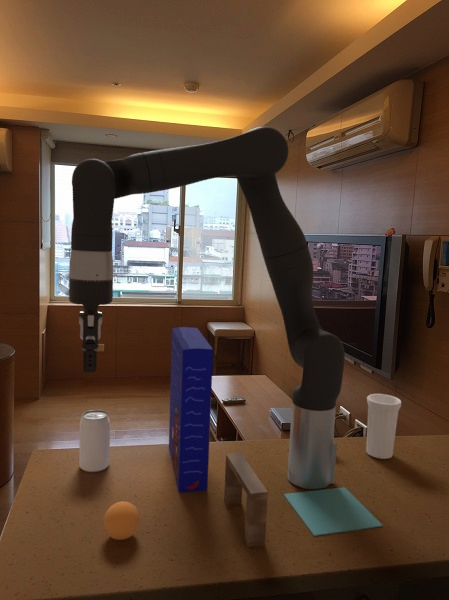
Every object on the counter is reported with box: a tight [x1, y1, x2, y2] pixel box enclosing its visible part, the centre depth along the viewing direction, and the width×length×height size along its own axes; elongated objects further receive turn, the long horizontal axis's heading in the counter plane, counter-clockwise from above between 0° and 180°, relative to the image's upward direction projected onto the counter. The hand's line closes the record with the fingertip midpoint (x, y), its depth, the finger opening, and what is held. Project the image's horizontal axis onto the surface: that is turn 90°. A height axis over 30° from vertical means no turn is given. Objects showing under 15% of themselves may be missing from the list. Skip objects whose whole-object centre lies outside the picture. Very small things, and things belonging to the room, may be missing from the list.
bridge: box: [223, 452, 269, 548], centre depth 89 cm, size 3×15×10 cm, turn 16°
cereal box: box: [168, 326, 214, 493], centre depth 108 cm, size 22×6×30 cm, turn 12°
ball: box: [103, 501, 140, 541], centre depth 83 cm, size 6×6×6 cm
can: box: [78, 409, 111, 473], centre depth 108 cm, size 6×6×12 cm
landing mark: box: [283, 486, 384, 537], centre depth 95 cm, size 14×14×1 cm
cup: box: [365, 393, 402, 460], centre depth 120 cm, size 8×8×14 cm
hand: (89, 365), depth 89 cm, fingers open, 8 cm apart
